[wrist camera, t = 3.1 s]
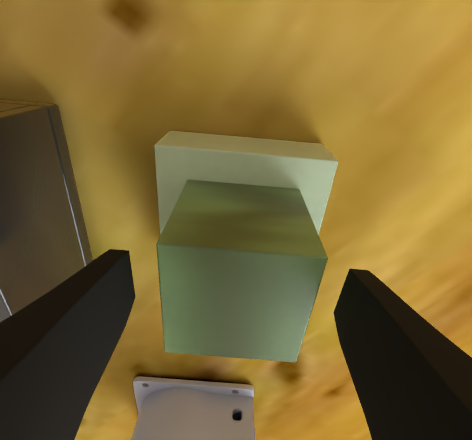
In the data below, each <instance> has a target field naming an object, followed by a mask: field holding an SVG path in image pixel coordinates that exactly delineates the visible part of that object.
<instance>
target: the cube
mask: <svg viewBox="0 0 472 440" xmlns="http://www.w3.org/2000/svg"><path fill="white" fill-rule="evenodd" d="M157 257H158V270H159V283H160V296H161V309H162V323H163V336H164V349H165V352H168V353H182V354H195V355H208V356H221V357H234V358H247V359H260V360H273V361H286V362H296V361H297V358H298V355H299V351H300V348H301V345H302V341H303V338H304V335H305V332H306V328H307V325H308V322H309V318H310V315H311V312H312V309H313V305H314V302H315V299H316V295H317V292H318V289H319V286H320V282H321V279H322V276H323V273H324V269H325V266H326V263H327V259H328V257H327V254H326V252H325V249H324V247H323V245H322V242H321V240H320V237H319V235H318V233H317V230H316V228H315V225H314V223H313V221H312V218H311V216H310V213H309V211H308V208H307V206H306V204H305V201H304V199H303V196H302V194H301V192H300V189H294V188H282V187H270V186H258V185H247V184H235V183H223V182H211V181H200V180H187V182H186V184H185V186H184V188H183V190H182V192H181V194H180V196H179V198H178V201H177V203H176V205H175V207H174V209H173V211H172V213H171V215H170V217H169V219H168V221H167V223H166V225H165V228H164V230H163V232H162V234H161V236H160V238H159V240H158V242H157Z"/></svg>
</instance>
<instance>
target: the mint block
mask: <svg viewBox="0 0 472 440" xmlns="http://www.w3.org/2000/svg"><path fill="white" fill-rule="evenodd" d="M154 150H155V165H156V180H157V195H158V210H159V225H160V236H161V234H162V232H163V230H164V228H165V225H166V223H167V221H168V219H169V217H170V215H171V213H172V211H173V209H174V207H175V205H176V203H177V201H178V198H179V196H180V194H181V192H182V190H183V188H184V186H185V184H186V182H187V180H200V181H211V182H223V183H235V184H247V185H258V186H270V187H282V188H294V189H300V192H301V194H302V196H303V199H304V201H305V204H306V206H307V208H308V211H309V213H310V216H311V218H312V221H313V223H314V225H315V228H316V230H317V233H318V235H319V231H320V228H321V224H322V220H323V217H324V213H325V209H326V205H327V202H328V198H329V194H330V191H331V187H332V183H333V179H334V176H335V172H336V168H337V165H338V160H337V159H336V158H335V157H334V156H333V155H332V153H331V152H330V151H329V150H328V149H327V148H326V147H325V146H324V145H323V144H320V143H308V142H297V141H286V140H274V139H263V138H251V137H240V136H228V135H217V134H206V133H194V132H183V131H171V130H170V131H169V132H168V133H167V134H166V135H164V136H163V137H162V138H161V139H160V140H159V141H158V142H157V143H156V144H155V145H154Z"/></svg>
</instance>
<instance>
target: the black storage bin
mask: <svg viewBox="0 0 472 440" xmlns="http://www.w3.org/2000/svg"><path fill="white" fill-rule="evenodd" d="M92 261H93V260H92V256H91V251H90V247H89V242H88V238H87V233H86V229H85V224H84V220H83V215H82V211H81V206H80V202H79V197H78V193H77V188H76V184H75V179H74V175H73V170H72V166H71V161H70V157H69V152H68V148H67V143H66V139H65V135H64V130H63V126H62V121H61V117H60V112H59V108H58V105H56V104H49V103H38V102H27V101H15V100H4V99H0V322H1V321H3V320H5V319H6V318H8V317H10V316H11V315H13V314H15V313H16V312H18V311H19V310H21V309H22V308H24V307H26V306H27V305H29V304H30V303H32V302H33V301H35V300H37V299H38V298H40V297H41V296H43V295H44V294H46V293H47V292H49V291H51V290H52V289H53V288H55V287H56V286H58V285H59V284H61V283H62V282H64V281H65V280H66V279H68V278H69V277H71V276H72V275H74V274H75V273H77V272H78V271H79V270H81V269H82V268H84V267H85V266H86V265H88V264H89V263H91V262H92Z"/></svg>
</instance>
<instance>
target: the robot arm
mask: <svg viewBox="0 0 472 440" xmlns="http://www.w3.org/2000/svg"><path fill="white" fill-rule="evenodd" d="M134 299H135V291H134V284H133V277H132V270H131V263H130V256H129V251H125V250H113V249H110V250H108V251H107V252H105V253H104V254H102V255H101V256H99V257H98V258H96V259H95V260H93V261H92V262H91V263H89V264H88V265H86V266H85V267H84V268H82V269H81V270H79V271H78V272H77V273H75V274H74V275H72V276H71V277H69V278H68V279H66V280H65V281H64V282H62V283H61V284H59V285H58V286H56V287H55V288H53V289H52V290H51V291H49V292H47V293H46V294H44V295H43V296H41V297H40V298H38V299H37V300H35V301H33V302H32V303H30V304H29V305H27V306H26V307H24V308H22V309H21V310H19V311H18V312H16V313H15V314H13V315H11V316H10V317H8V318H6V319H5V320H3V321H1V322H0V440H74V439H75V436H76V434H77V431H78V429H79V426H80V423H81V421H82V418H83V415H84V413H85V411H86V408H87V406H88V404H89V401H90V399H91V397H92V395H93V393H94V391H95V389H96V386H97V384H98V382H99V380H100V378H101V376H102V374H103V372H104V370H105V368H106V366H107V364H108V362H109V360H110V358H111V355H112V353H113V351H114V349H115V347H116V345H117V343H118V341H119V339H120V337H121V335H122V332H123V330H124V328H125V326H126V323H127V320H128V317H129V315H130V312H131V309H132V305H133V302H134ZM334 317H335V322H336V327H337V332H338V337H339V341H340V345H341V348H342V351H343V354H344V357H345V360H346V363H347V365H348V368H349V371H350V374H351V377H352V380H353V383H354V386H355V389H356V391H357V394H358V397H359V400H360V403H361V406H362V409H363V412H364V414H365V417H366V421H367V424H368V427H369V430H370V434H371V437H372V440H472V358H471V357H470V356H469V355H467V354H466V353H465V352H464V351H462V350H461V349H460V348H459V347H457V346H456V345H455V344H454V343H452V342H451V341H450V340H449V339H447V338H446V337H445V336H444V335H443V334H441V333H440V332H439V331H438V330H437V329H435V328H434V327H433V326H432V325H431V324H429V323H428V322H427V321H426V320H425V319H424V318H422V317H421V316H420V315H419V314H418V313H417V312H415V311H414V310H413V309H412V308H411V307H410V306H409V305H408V304H406V303H405V302H404V301H403V300H402V299H401V298H400V297H399V296H397V295H396V294H395V293H394V292H393V291H392V290H391V289H390V288H388V287H387V286H386V285H385V284H384V283H383V282H382V281H380V280H379V279H378V278H377V277H376V276H375V275H373V274H372V273H371V272H370V271H368V270H358V269H349V272H348V275H347V277H346V280H345V283H344V286H343V288H342V291H341V294H340V297H339V299H338V302H337V305H336V308H335V310H334ZM133 388H134V393H135V399H136V404H137V410H138V418H137V422H136V425H135V428H134V431H133V435H132V438H131V440H255V427H254V410H253V396H254V387H253V386H252V385H248V384H235V383H221V382H208V381H195V380H182V379H169V378H155V377H142V376H138V377H135V378H134V381H133Z"/></svg>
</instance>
